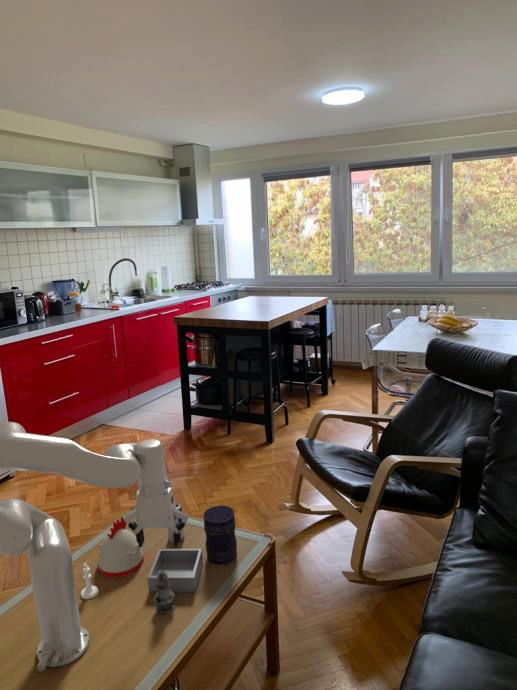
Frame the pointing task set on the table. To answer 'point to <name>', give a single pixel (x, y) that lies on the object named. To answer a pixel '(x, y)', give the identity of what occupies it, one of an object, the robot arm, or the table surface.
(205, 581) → the table surface
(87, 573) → the chess piece
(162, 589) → the grey pawn
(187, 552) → the box
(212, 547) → the storage jar
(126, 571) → the kitchen timer
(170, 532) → the energy drink
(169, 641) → the table surface
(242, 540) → the table surface
